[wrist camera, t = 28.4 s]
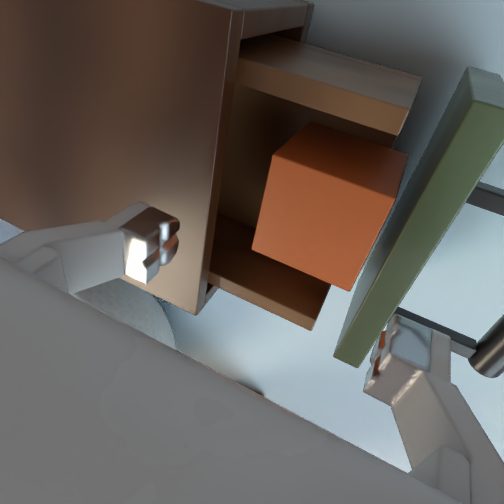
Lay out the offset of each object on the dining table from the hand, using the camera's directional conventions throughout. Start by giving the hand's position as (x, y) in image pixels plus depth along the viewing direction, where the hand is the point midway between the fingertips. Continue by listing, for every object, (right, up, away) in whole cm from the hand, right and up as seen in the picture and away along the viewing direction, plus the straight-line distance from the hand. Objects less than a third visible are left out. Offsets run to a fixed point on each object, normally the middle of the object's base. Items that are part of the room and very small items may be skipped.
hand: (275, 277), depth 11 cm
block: (+3, +4, +6) cm, 8 cm away
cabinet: (-6, +9, +10) cm, 14 cm away
